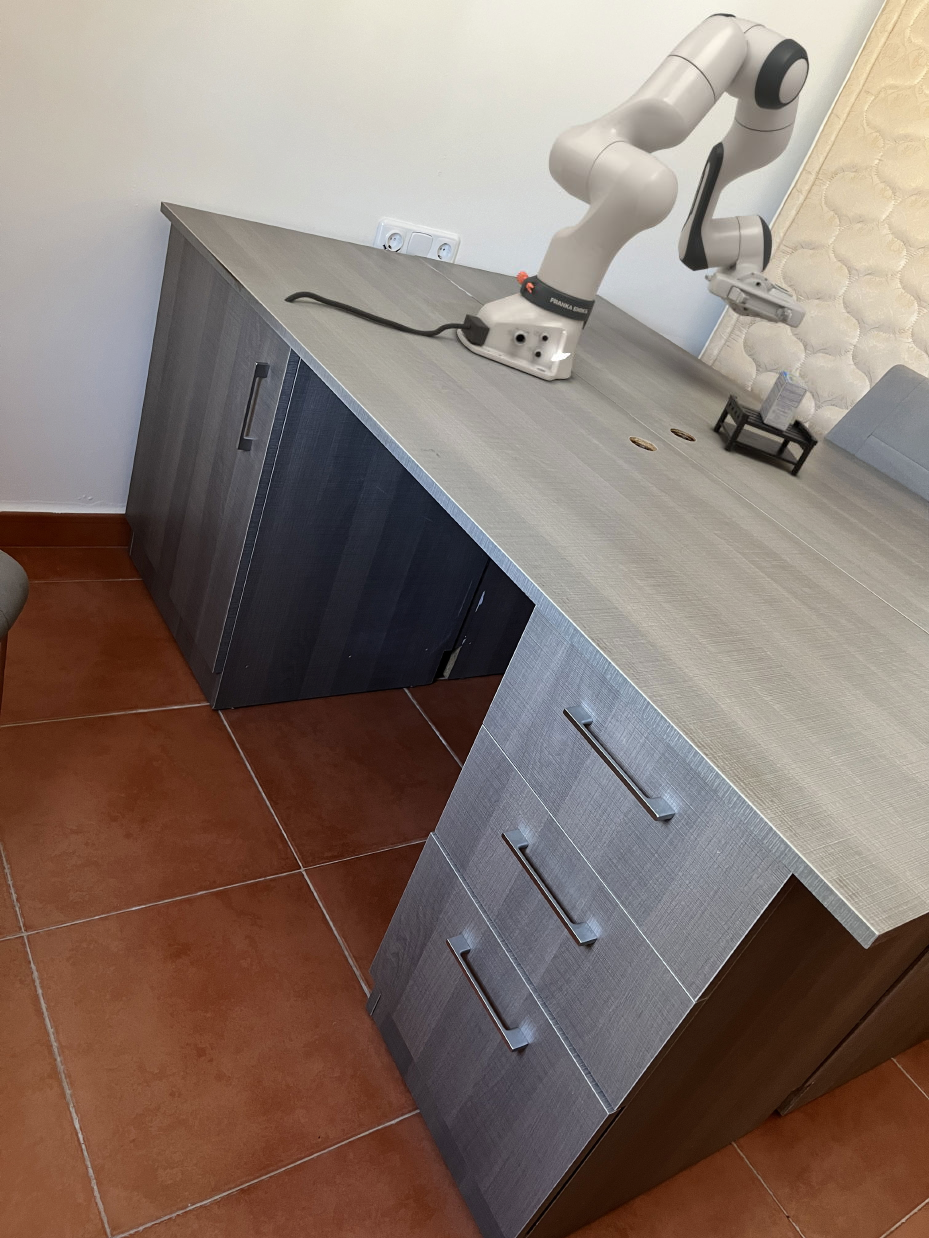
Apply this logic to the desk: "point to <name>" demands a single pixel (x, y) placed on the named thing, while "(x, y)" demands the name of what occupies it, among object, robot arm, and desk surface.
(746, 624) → the desk surface
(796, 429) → the rack
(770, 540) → the desk surface
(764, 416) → the medicine box
